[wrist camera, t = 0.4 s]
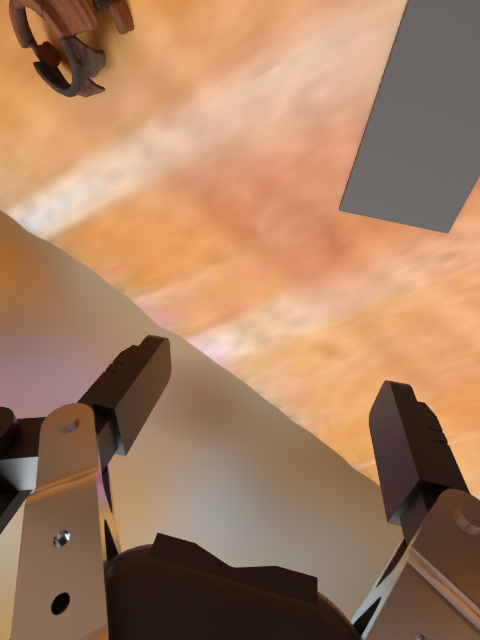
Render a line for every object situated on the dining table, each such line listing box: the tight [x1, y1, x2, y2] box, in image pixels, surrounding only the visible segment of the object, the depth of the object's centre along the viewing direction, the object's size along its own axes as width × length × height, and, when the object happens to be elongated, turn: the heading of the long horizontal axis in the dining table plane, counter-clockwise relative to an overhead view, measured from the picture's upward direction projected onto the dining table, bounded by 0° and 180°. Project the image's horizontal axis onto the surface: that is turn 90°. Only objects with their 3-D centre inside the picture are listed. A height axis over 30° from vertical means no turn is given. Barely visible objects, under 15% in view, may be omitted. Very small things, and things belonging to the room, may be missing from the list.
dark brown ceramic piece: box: [9, 0, 134, 97], centre depth 28 cm, size 12×10×8 cm
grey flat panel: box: [339, 0, 480, 233], centre depth 25 cm, size 30×12×1 cm, turn 171°
